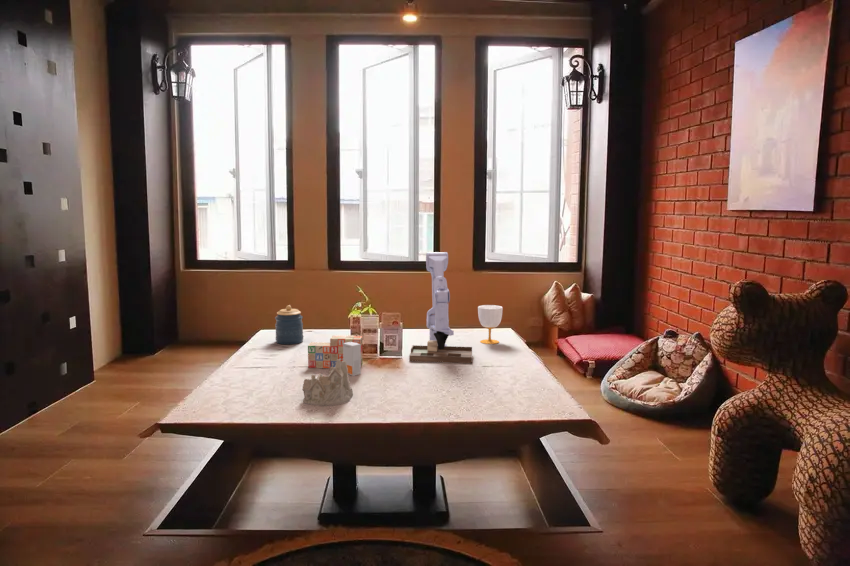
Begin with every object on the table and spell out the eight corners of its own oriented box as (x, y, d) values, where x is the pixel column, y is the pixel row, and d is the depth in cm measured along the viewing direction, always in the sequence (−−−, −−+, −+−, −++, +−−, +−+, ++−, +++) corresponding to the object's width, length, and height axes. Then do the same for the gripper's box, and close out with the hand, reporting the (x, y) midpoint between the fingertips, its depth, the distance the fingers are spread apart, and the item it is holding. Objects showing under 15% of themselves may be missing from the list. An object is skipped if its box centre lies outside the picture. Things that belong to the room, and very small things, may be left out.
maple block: (428, 349, 265) (428, 340, 265) (437, 349, 265) (437, 340, 264) (427, 351, 261) (427, 342, 261) (436, 351, 261) (436, 342, 260)
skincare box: (342, 373, 237) (342, 343, 236) (351, 370, 240) (350, 341, 239) (353, 376, 233) (352, 345, 231) (361, 373, 236) (361, 343, 235)
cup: (477, 338, 297) (478, 304, 295) (502, 339, 296) (502, 305, 294) (476, 344, 286) (477, 308, 284) (501, 345, 284) (502, 309, 282)
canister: (294, 337, 299) (293, 302, 296) (308, 342, 289) (307, 305, 287) (270, 341, 290) (269, 305, 288) (284, 346, 281) (283, 308, 278)
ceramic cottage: (358, 391, 214) (354, 350, 211) (342, 409, 198) (338, 364, 195) (316, 391, 217) (312, 350, 215) (298, 408, 201) (293, 364, 199)
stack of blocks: (307, 368, 244) (307, 338, 243) (311, 364, 251) (310, 334, 249) (360, 369, 244) (360, 338, 242) (362, 364, 250) (362, 335, 248)
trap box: (412, 354, 267) (412, 345, 266) (471, 355, 264) (472, 346, 264) (409, 361, 255) (409, 352, 254) (471, 363, 253) (471, 353, 252)
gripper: (459, 319, 256) (459, 351, 258) (439, 314, 268) (438, 344, 270) (446, 321, 252) (445, 353, 254) (426, 316, 264) (425, 346, 266)
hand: (441, 349), depth 262 cm, fingers closed
